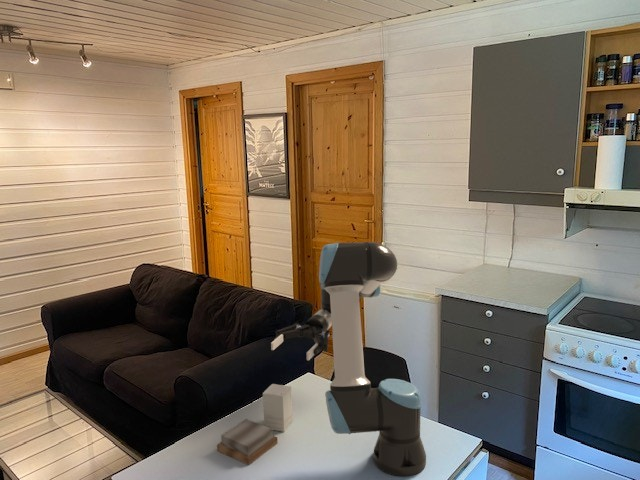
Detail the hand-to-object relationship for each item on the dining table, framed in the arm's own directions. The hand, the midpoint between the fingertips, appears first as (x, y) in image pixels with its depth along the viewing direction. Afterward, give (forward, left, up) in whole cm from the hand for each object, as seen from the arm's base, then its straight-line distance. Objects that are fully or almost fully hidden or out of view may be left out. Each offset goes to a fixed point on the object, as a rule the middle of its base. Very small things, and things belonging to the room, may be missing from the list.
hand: (289, 351), depth 160 cm
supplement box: (+2, +4, -25) cm, 25 cm away
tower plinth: (+2, +19, -25) cm, 31 cm away
